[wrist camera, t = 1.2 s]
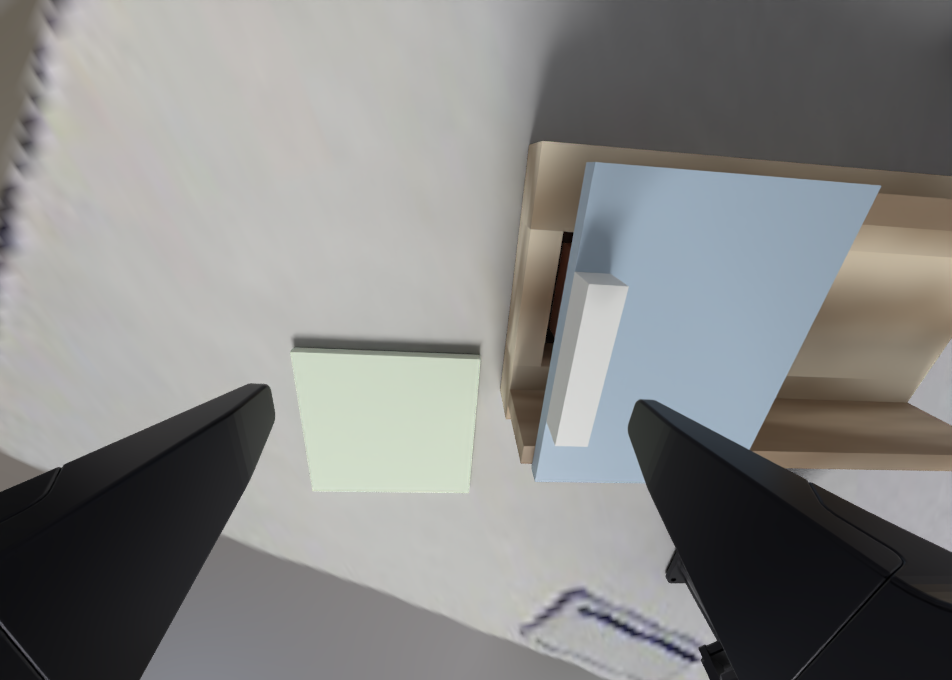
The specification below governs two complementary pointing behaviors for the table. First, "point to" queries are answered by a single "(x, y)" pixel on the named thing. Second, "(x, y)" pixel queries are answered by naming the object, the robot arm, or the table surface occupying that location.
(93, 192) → the table surface
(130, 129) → the table surface
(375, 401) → the sage mat
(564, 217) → the open storage box
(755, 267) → the cover
